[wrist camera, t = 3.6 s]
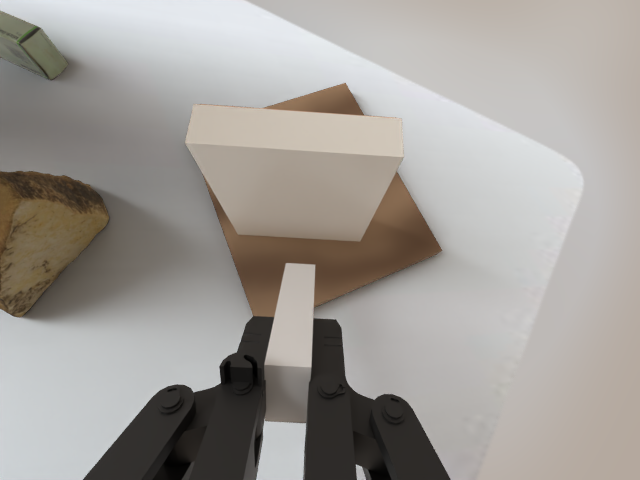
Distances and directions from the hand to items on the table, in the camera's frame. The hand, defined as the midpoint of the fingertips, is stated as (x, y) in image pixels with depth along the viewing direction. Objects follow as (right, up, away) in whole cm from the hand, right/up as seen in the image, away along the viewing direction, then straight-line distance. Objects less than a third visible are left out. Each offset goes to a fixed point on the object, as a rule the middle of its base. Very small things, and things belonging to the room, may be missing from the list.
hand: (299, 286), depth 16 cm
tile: (-1, +4, +10) cm, 10 cm away
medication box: (-30, +22, +16) cm, 41 cm away
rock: (-20, +2, +10) cm, 23 cm away
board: (0, +7, +12) cm, 14 cm away
